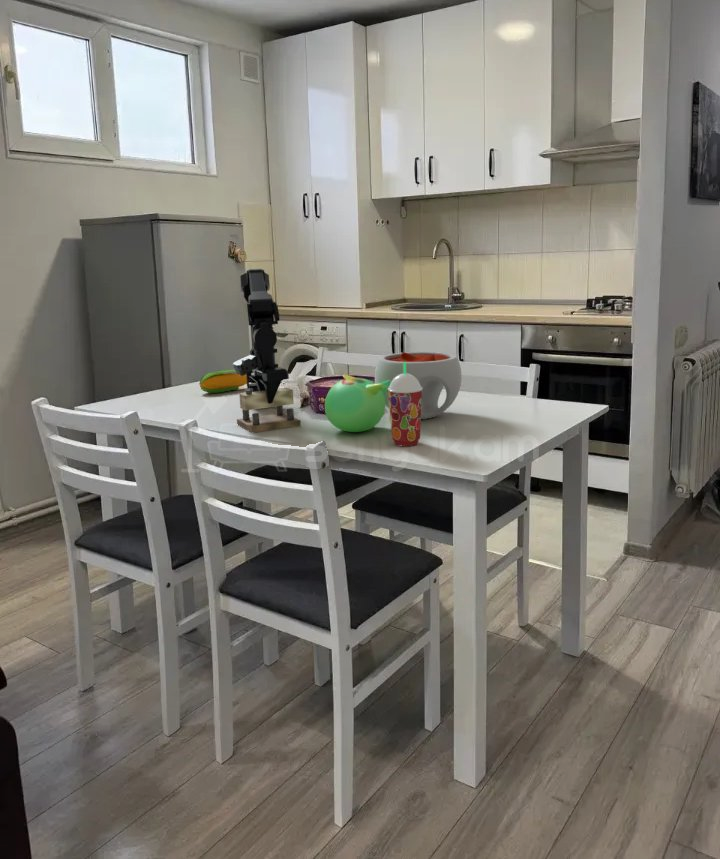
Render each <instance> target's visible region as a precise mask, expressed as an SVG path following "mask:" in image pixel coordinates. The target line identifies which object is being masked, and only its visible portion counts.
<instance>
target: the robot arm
mask: <svg viewBox="0 0 720 859" xmlns="http://www.w3.org/2000/svg"><path fill="white" fill-rule="evenodd" d="M239 284H240V285H239V286H240V293H241V292H242V294H243V295H242V296H243V298H244V300H245V302H246V316H247V322H248V323H247V324H248V326H249V327H250V338H251V339H250V340H251V349H250V350H249V354H248V355H247V356H245V357H243V358H240V359H238V360H236V361H234V362H233V363H232V366H233V368H234V370H236V371H235V373H237V374H239V375H240V376H243V375H246V381H247V384H246V387H247V388H246V389H249V390H252V392H256V391H264V390H265V391H266V396H267V401H268V403H269V404H270V403H272V402H273V400H274V397H275V395H276V392H277V390H278V389H280V386H281V383H282V382H283V381H284V380H289V379H290V377H289V376H290V375H289V371H288V370H287V369H286V368H284V367H281V366H280V367H279V363H276V353H278V348H276V347H275V346H276V343H277V341H278V336H277V334H276V332H275V331H274V326H273V325H279V321H280V312H279V306H278V304H277V302H276V301H274V299H273V296H272V294H270V293H268V291H270V286H271V284H270V275H269V274H268V273H266V272H265V269H262V268H250V269H248V270H246V272H245V273H243V274H242V275H240V276H239Z"/></svg>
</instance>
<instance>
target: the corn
mask: <svg viewBox="0 0 720 859" xmlns="http://www.w3.org/2000/svg"><path fill="white" fill-rule="evenodd" d="M232 372H233V373H232ZM234 372H235V373H234ZM245 385H247V381H246V375H243V376H240V375H239V374H237V373H236V370H235V369H227V370H226V369H224V370H218V371H214V372H208V373H207V374H205V375H204V376H202V377H201V378H200V381H199V386H200V390H201V391H203V392H206V393H208V394H220V393H219V392H222V393H226V392H225V391H228V392H232V391H231V390H234V391H236V389H237V390H239V388H240V387H243V386H245Z"/></svg>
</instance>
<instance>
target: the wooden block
mask: <svg viewBox="0 0 720 859" xmlns="http://www.w3.org/2000/svg"><path fill="white" fill-rule="evenodd" d="M239 405H240V406H239V407H240V409H241V410H242V409H243V410H245V411H246V410H249V411H253V410H258V409H266V408H274V407H275V408H276V406H288V405H289V406H290V405H294V390H293V389H292V388H290V387H282V388H280V387H279V388H278V390H277V392H276V395H275V397H274V400H273V402H272V403H270V404H269V403H268V401H267V396H266V391H265V390H264V391H256V392H252V390H250V389H245V392H241V393H239Z"/></svg>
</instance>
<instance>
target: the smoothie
mask: <svg viewBox="0 0 720 859" xmlns="http://www.w3.org/2000/svg"><path fill="white" fill-rule="evenodd" d="M422 390H423V388H422V387H421V385H420V383H419V381H418V380H417V378H416V377H414V376H413V375H411V374H408V373H406V362H403V373H402V374H399V375H397V376H396V377H395V378H394V379H393V380H392V381H391V383H390V386H389V388H388V397H389V408H388V410H389V417H390V418H389V419H390V432H391V439H392V440H393V443H394V445H395V444H396V445H395V446H397V445H402V446H401V447H405V446H406V447H412V446H411V445H414V446H416V445H418V444H417V443H419V440H420V439H421V428H422V427H421V426H422V420H421V409H422Z"/></svg>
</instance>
